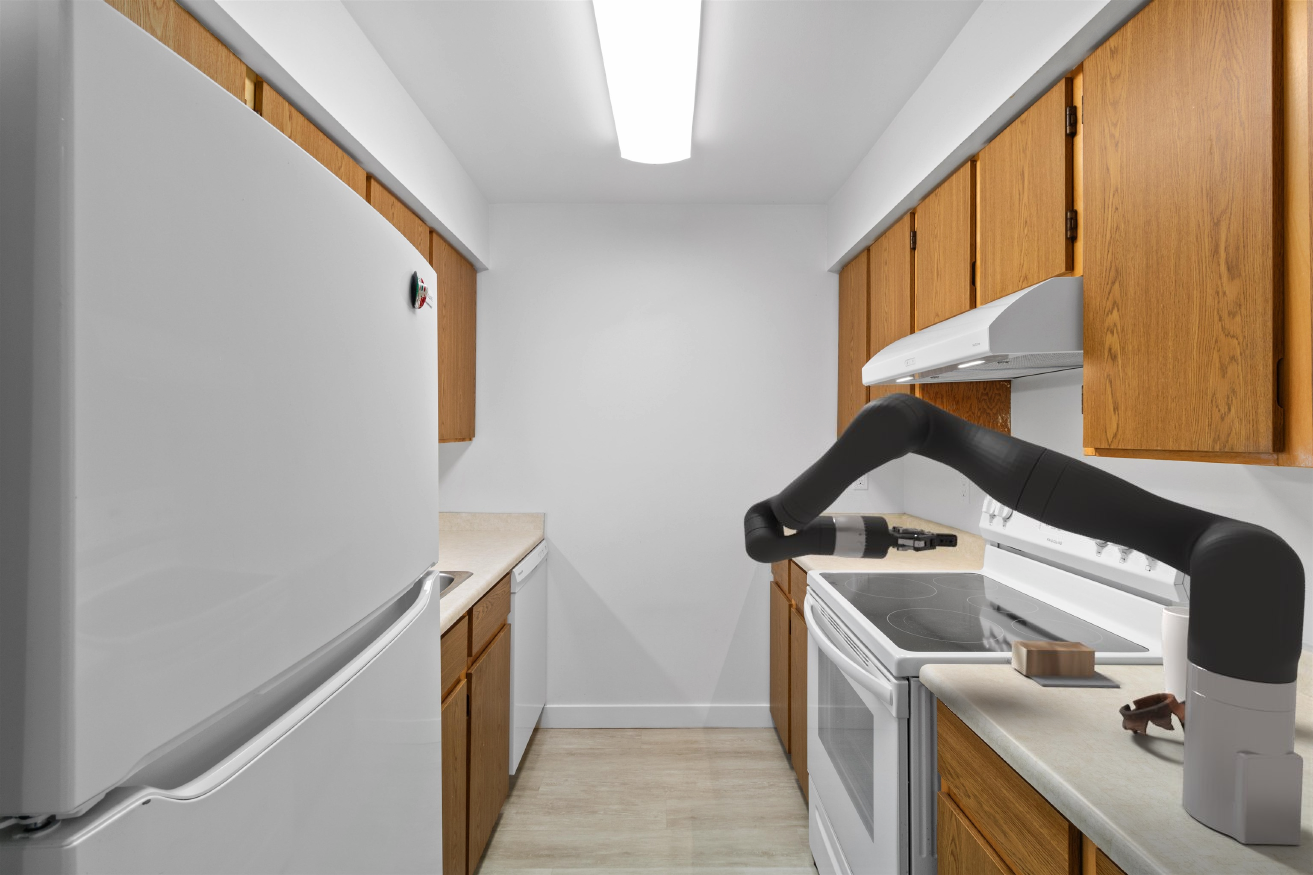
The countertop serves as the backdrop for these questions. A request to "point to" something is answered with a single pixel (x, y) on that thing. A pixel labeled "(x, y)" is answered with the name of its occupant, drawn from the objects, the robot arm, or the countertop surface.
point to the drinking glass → (1175, 649)
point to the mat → (1074, 680)
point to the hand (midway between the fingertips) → (955, 540)
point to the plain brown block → (1053, 658)
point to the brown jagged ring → (1153, 712)
